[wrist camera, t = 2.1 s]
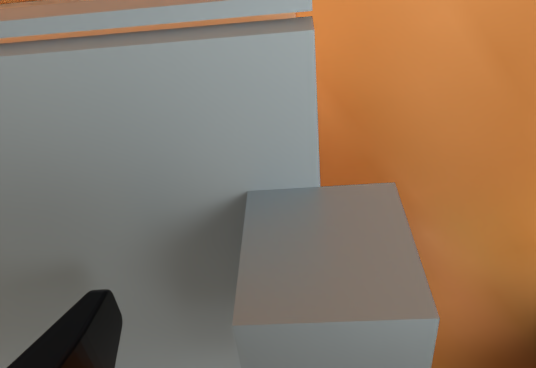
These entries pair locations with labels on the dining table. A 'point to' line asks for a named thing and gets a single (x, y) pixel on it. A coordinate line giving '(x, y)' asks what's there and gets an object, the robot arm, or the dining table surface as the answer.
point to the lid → (194, 195)
